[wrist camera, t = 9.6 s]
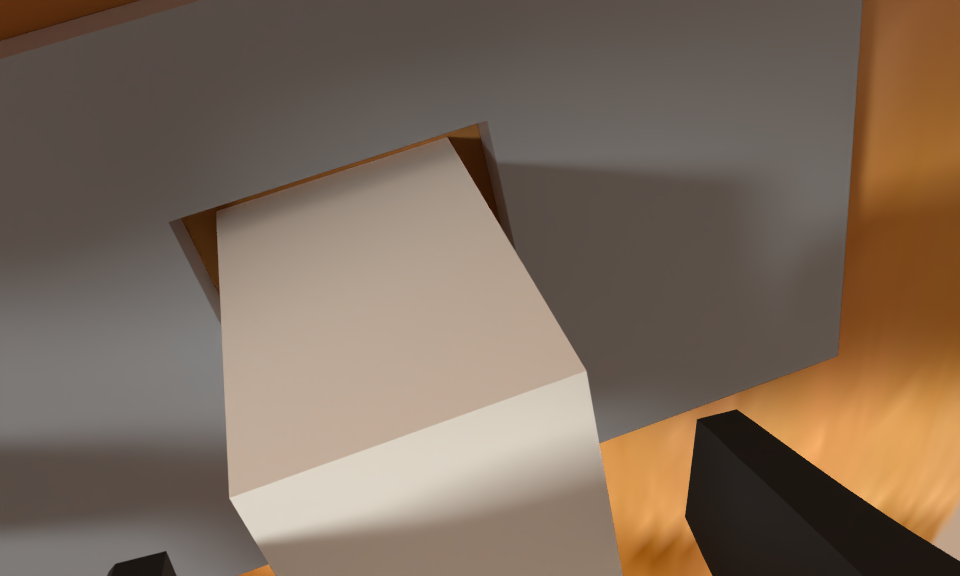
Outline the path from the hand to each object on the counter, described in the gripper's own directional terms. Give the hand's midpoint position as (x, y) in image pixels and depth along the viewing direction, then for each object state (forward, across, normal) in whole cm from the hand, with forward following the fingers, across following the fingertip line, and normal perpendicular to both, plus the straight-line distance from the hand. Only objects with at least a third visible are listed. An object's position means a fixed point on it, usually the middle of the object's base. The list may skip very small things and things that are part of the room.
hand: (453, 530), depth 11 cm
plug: (+7, 0, 0) cm, 7 cm away
